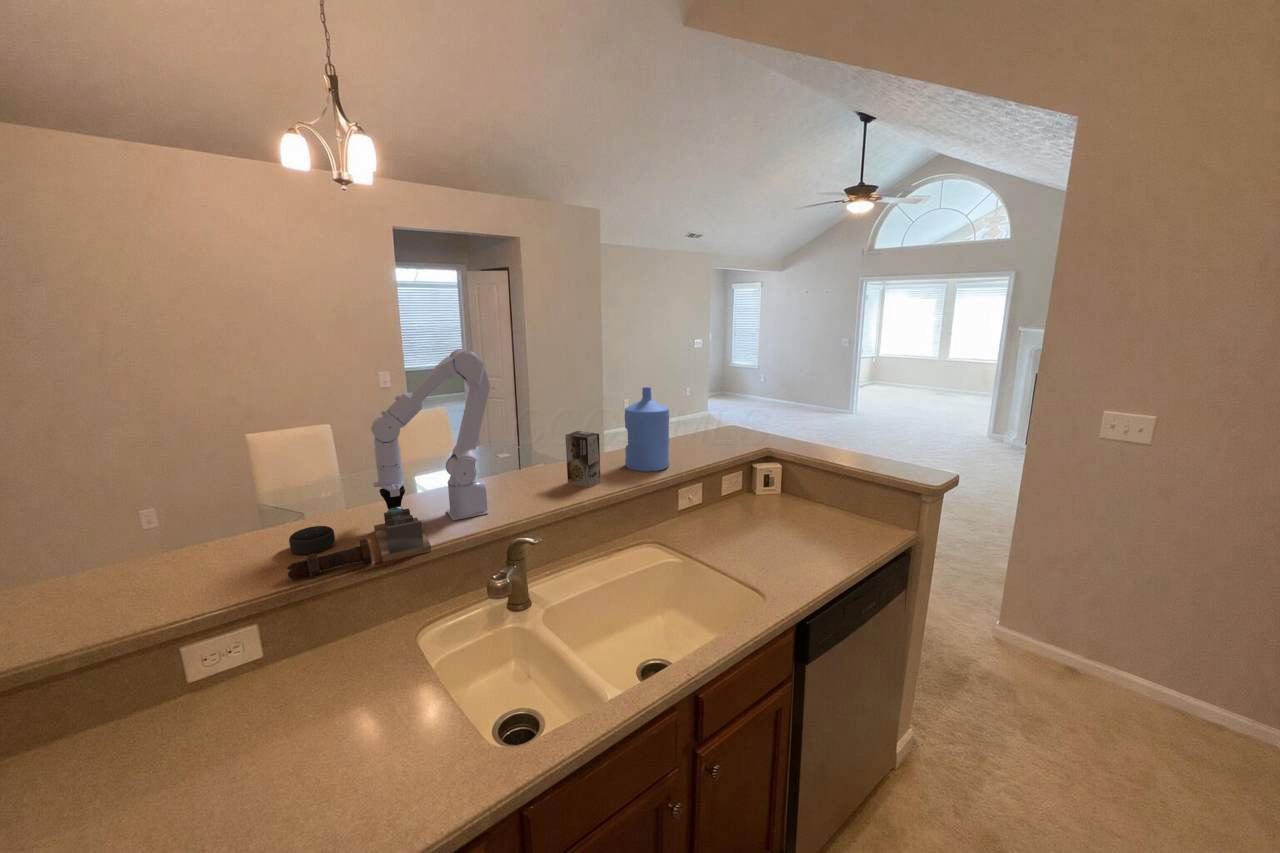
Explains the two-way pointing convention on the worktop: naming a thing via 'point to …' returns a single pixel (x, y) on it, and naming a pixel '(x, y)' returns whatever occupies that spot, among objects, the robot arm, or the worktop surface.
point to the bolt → (331, 561)
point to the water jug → (647, 435)
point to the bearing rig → (401, 536)
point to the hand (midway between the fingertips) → (395, 515)
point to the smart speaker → (312, 540)
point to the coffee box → (583, 458)
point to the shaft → (395, 508)
